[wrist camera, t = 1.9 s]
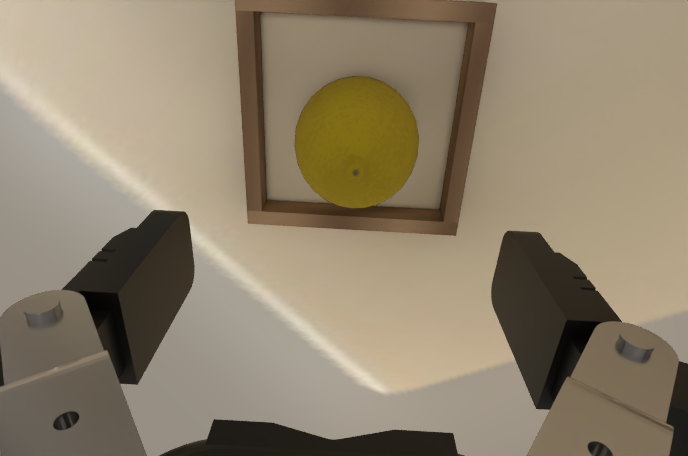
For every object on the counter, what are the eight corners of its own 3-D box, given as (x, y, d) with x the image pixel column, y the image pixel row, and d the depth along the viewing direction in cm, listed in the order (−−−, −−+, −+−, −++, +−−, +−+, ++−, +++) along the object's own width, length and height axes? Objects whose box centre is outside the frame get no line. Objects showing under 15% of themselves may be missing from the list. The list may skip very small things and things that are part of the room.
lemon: (380, 184, 26) (385, 257, 19) (289, 142, 25) (260, 203, 18) (430, 94, 24) (458, 140, 17) (332, 44, 23) (317, 69, 16)
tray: (489, 2, 22) (497, 3, 20) (451, 223, 27) (456, 235, 26) (242, -10, 22) (234, -10, 20) (253, 212, 27) (247, 223, 26)
